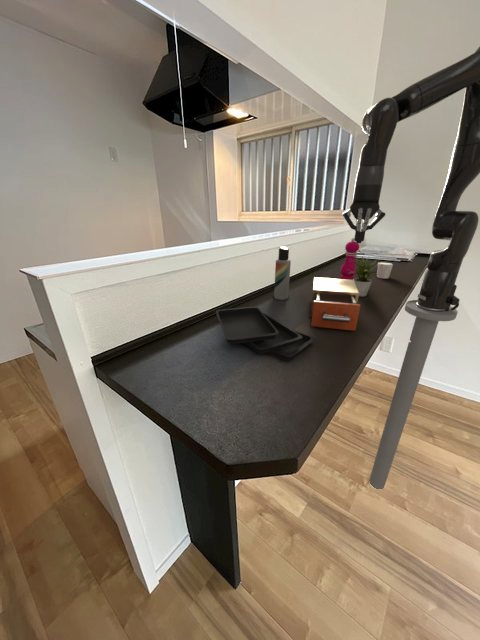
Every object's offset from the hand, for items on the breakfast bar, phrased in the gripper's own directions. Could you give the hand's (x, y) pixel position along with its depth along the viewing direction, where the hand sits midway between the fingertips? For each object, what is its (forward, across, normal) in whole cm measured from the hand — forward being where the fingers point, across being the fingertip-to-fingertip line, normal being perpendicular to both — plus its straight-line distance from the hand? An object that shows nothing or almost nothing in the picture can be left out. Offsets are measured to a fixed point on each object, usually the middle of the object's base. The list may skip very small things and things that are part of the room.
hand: (358, 242), depth 87 cm
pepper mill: (+23, +3, +40) cm, 46 cm away
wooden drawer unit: (+22, -6, -17) cm, 28 cm away
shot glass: (+23, +21, +50) cm, 59 cm away
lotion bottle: (+23, -25, +5) cm, 34 cm away
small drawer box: (+23, -6, -5) cm, 24 cm away
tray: (+23, -27, -33) cm, 49 cm away
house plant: (+23, +5, +18) cm, 30 cm away
